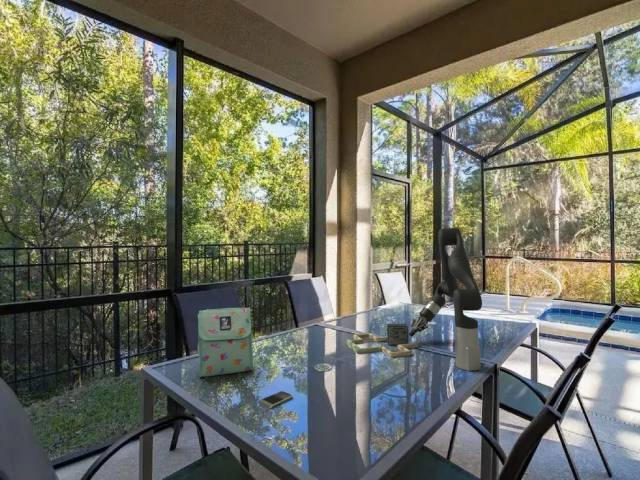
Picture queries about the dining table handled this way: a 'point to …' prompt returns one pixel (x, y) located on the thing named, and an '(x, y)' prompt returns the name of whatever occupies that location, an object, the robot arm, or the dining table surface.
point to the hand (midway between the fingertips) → (410, 335)
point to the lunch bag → (224, 341)
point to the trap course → (369, 337)
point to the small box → (397, 334)
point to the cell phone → (275, 399)
